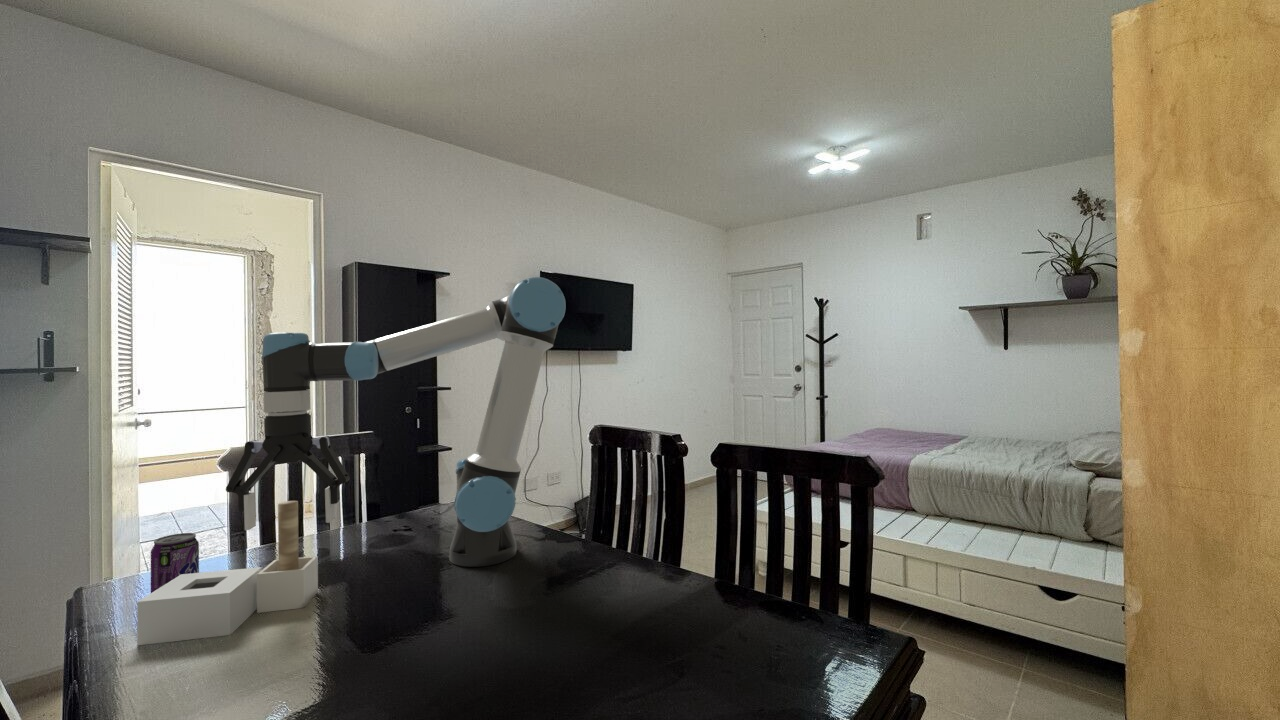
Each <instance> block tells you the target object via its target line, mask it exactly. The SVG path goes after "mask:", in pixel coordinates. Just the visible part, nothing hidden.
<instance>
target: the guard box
mask: <svg viewBox="0 0 1280 720" xmlns="http://www.w3.org/2000/svg"><path fill="white" fill-rule="evenodd" d="M261 570H263V567H262V566H261V567H249V568H238V569H237V568H236V569H225V570H215V571H213V570H212V571H205V572H204V571H203V572H199V573H191V574H181V575H179V576H178V577H176V578H175V579H173V580H171V581H170V582H168V583H167V584H165V585H163V586H162V587H160V588H159V589H157V590H155V591H154V592H152V593H151V592H150V593H149V594H148V595H146V596H144V597H142V598H141V599H139V600H138V601H137V602H136V603H137V605H136V606H137V607H136V608H137V611H136V613H137V614H136V617H137V618H136V621H137V623H136V624H137V626H136V627H137V628H136V630H137V635H136V636H137V641H136V642H137V644H136V645H137V646H143V645H144V646H145V645H153V644H161V643H169V642H178V641H179V642H180V641H186V640H197V639H205V638H213V637H224V636H230V635H232V634H233V633H234V632H235V631H236V630H237V629H238V628H239V627H240V626H241V625H242V624H243V623H245V622H246V620H247V619H249V618H250V616H252V615H253V614H254V613H255V612H257V574H258V573H259V572H260V571H261Z"/></svg>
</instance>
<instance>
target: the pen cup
mask: <svg viewBox="0 0 1280 720" xmlns="http://www.w3.org/2000/svg"><path fill="white" fill-rule="evenodd" d="M318 559H319V558H318V556H317V555H316V556H303V557H299V569H296V570H286V571H279V559H274V560H272V561H271V562H270V563H269V564H268V565H266V566H265V567H264V568H262V570H261V571H260V572H259V573H258V574H257V610H256V613H257V614H259V613H267V612H268V613H269V612H279V611H285V610H286V611H287V610H296V609H305V607H306V606H307V605H308V603H310V601H311V600H312V599H313V598H314V597H315V596H316V594H317V593H318V592H319V565H318V563H319V562H318Z"/></svg>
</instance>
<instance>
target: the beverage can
mask: <svg viewBox="0 0 1280 720" xmlns="http://www.w3.org/2000/svg"><path fill="white" fill-rule="evenodd" d="M196 536H197V535H196V533H193V532H184V533H183V532H182V533H175V534H170V535H165V536H161V537H159V538H157V539H154V540H153V543H154V544H153V546H152V548H151V551H150V594H151V593H152V592H154V591H155V590H157V589H159V588H160V587H162V586H163V585H165V584H167V583H168V582H170V581H171V580H173V579H175V578H176V577H178V576H179V575H181V574H191V573H200V543H199V541H198V540H197V538H196Z"/></svg>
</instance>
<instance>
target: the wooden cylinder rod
mask: <svg viewBox="0 0 1280 720" xmlns="http://www.w3.org/2000/svg"><path fill="white" fill-rule="evenodd" d="M277 513H278V514H277V523H278V524H277V529H278V531H277V533H278V535H277V536H278V537H277V538H278V549H277V550H278V556H277V557H278V560H279V571H286V570H296V569H299V558H300V557H299V556H300V555H299V501H298V500H288V501H287V500H285V501H282V502H279V503H277Z"/></svg>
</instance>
